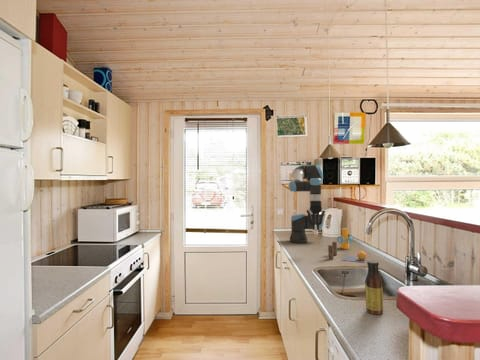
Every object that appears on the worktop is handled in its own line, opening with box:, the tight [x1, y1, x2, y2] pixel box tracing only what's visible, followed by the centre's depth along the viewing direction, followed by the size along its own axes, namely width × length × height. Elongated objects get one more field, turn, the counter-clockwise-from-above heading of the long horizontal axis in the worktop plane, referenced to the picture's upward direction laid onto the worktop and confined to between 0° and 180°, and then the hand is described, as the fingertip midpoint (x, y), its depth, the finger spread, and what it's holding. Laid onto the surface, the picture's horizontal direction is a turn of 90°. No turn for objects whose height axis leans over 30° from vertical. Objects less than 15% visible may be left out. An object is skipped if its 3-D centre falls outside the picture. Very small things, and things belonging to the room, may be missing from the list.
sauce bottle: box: [364, 259, 384, 315], centre depth 122 cm, size 7×6×20 cm
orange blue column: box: [336, 227, 354, 250], centre depth 237 cm, size 12×10×15 cm
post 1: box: [327, 244, 334, 261], centre depth 205 cm, size 3×3×9 cm
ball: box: [356, 251, 367, 260], centre depth 202 cm, size 6×6×6 cm
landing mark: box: [341, 255, 368, 264], centre depth 204 cm, size 14×14×1 cm
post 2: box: [331, 241, 338, 256], centre depth 216 cm, size 3×3×9 cm
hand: (316, 234), depth 216 cm, fingers closed
